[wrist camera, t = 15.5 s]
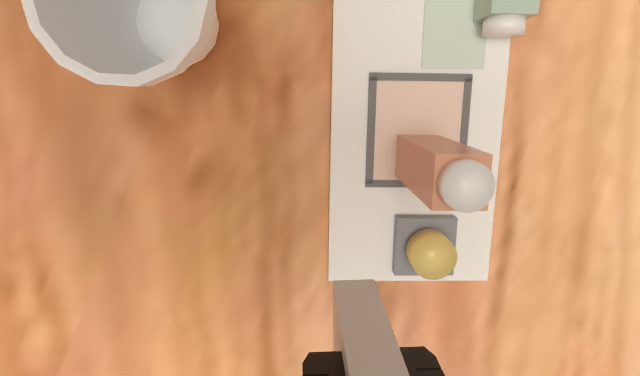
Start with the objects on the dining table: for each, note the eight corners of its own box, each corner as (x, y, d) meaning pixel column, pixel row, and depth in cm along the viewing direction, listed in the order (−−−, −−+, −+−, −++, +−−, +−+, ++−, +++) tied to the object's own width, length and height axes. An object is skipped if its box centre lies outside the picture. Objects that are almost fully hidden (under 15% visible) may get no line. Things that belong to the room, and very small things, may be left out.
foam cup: (207, -61, 35) (156, -143, 23) (258, 57, 37) (238, 42, 25) (93, -10, 36) (-20, -63, 23) (150, 104, 38) (74, 113, 25)
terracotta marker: (396, 134, 38) (441, 157, 26) (438, 135, 38) (501, 157, 26) (395, 175, 39) (437, 216, 27) (435, 176, 39) (495, 216, 27)
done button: (407, 228, 38) (413, 236, 36) (451, 228, 38) (459, 236, 36) (404, 270, 39) (410, 280, 37) (447, 270, 39) (455, 280, 37)
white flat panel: (334, -70, 36) (336, -79, 34) (516, -65, 36) (528, -73, 34) (327, 277, 41) (329, 287, 40) (483, 276, 42) (492, 286, 40)
